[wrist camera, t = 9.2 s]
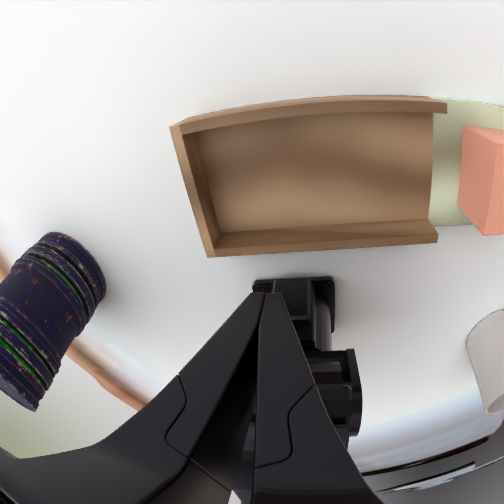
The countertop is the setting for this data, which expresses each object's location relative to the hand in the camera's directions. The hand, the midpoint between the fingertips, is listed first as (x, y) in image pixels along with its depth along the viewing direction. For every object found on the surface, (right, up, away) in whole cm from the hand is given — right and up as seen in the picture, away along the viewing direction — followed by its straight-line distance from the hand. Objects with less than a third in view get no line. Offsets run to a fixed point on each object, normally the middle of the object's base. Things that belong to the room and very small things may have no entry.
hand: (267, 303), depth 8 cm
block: (+16, +7, +6) cm, 18 cm away
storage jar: (-20, 0, +19) cm, 28 cm away
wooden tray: (+7, +7, +8) cm, 13 cm away
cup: (+27, -8, +16) cm, 32 cm away
